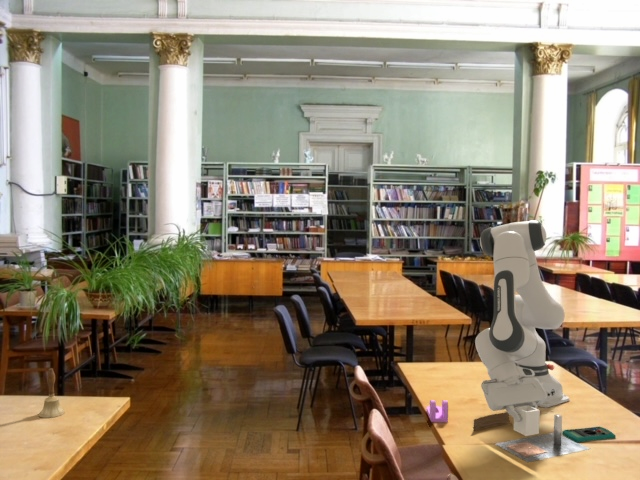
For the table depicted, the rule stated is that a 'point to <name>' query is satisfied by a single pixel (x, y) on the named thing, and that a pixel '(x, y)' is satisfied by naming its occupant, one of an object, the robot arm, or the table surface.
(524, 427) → the sleeve
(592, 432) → the digital multimeter
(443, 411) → the bracket
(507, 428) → the table surface
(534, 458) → the post plate
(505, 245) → the robot arm
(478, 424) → the brown bark piece
